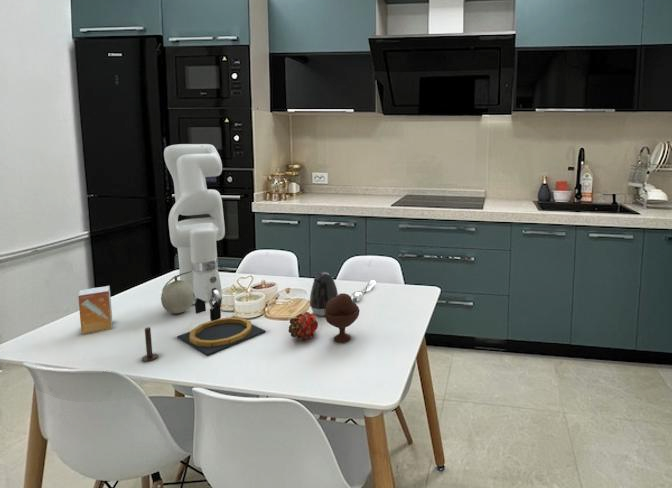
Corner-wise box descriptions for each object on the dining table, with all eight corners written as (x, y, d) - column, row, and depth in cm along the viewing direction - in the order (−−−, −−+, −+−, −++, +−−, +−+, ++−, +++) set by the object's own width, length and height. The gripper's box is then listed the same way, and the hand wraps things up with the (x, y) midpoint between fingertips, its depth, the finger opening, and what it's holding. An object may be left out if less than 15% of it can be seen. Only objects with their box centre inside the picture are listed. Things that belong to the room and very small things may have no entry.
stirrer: (368, 275, 184) (378, 276, 183) (368, 283, 185) (378, 284, 184) (348, 294, 165) (359, 295, 164) (348, 303, 166) (360, 304, 165)
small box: (81, 334, 139) (77, 295, 137) (83, 327, 144) (79, 289, 143) (112, 328, 143) (108, 290, 142) (113, 321, 148) (109, 285, 147)
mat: (233, 317, 152) (233, 316, 151) (265, 332, 140) (265, 330, 140) (177, 337, 136) (176, 336, 136) (207, 356, 125) (207, 354, 125)
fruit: (153, 316, 153) (149, 275, 151) (181, 304, 163) (178, 266, 162) (175, 320, 149) (172, 278, 147) (202, 308, 160) (199, 269, 158)
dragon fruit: (293, 351, 131) (308, 339, 142) (316, 336, 130) (328, 324, 142) (278, 328, 131) (294, 317, 143) (300, 312, 131) (314, 302, 143)
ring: (232, 317, 151) (232, 313, 151) (262, 330, 140) (262, 326, 140) (179, 335, 137) (179, 331, 136) (208, 352, 126) (207, 347, 126)
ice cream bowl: (365, 333, 139) (364, 288, 137) (349, 350, 128) (347, 301, 126) (336, 329, 142) (335, 285, 140) (317, 344, 132) (316, 297, 130)
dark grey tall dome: (303, 316, 152) (302, 274, 150) (321, 305, 162) (319, 266, 160) (328, 321, 148) (327, 278, 147) (344, 309, 158) (343, 269, 156)
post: (154, 353, 127) (152, 324, 126) (160, 357, 124) (158, 327, 123) (139, 359, 124) (136, 328, 123) (145, 363, 121) (142, 332, 120)
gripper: (230, 267, 138) (233, 318, 141) (203, 258, 149) (206, 306, 151) (206, 273, 133) (210, 326, 135) (180, 263, 143) (183, 313, 145)
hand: (208, 315), depth 143 cm, fingers open, 9 cm apart
